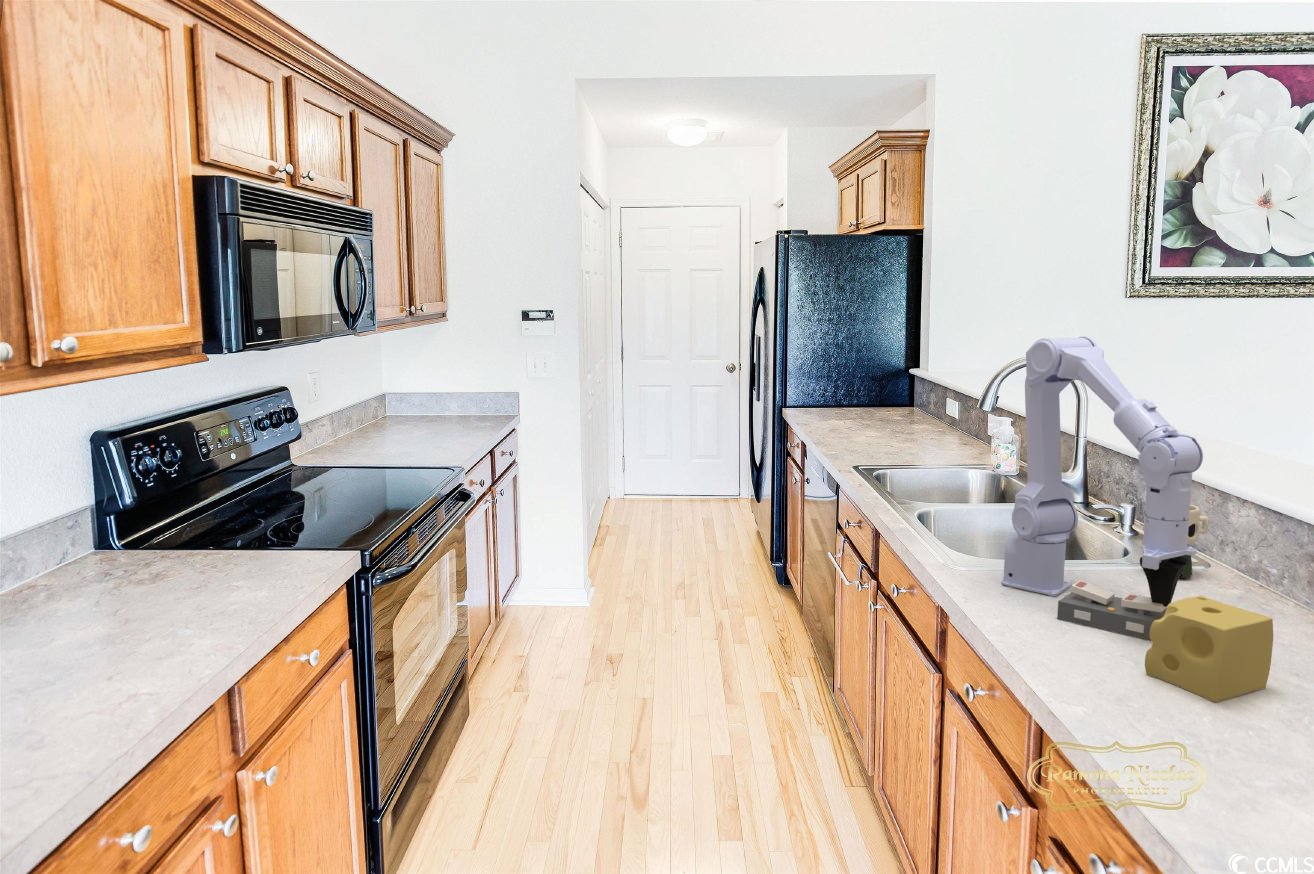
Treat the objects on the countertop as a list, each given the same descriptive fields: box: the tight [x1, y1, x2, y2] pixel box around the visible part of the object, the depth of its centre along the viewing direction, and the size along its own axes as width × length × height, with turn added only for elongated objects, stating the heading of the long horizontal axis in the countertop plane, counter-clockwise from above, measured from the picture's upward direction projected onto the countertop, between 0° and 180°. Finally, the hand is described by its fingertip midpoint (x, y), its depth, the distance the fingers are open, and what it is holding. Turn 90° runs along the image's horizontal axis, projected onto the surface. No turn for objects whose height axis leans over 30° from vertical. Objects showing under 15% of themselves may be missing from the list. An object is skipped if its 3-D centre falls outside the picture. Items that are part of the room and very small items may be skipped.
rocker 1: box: [1069, 580, 1116, 605], centre depth 139 cm, size 6×4×1 cm, turn 46°
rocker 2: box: [1121, 593, 1167, 612], centre depth 133 cm, size 6×4×1 cm, turn 45°
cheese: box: [1144, 595, 1274, 703], centre depth 115 cm, size 10×11×10 cm
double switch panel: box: [1057, 591, 1167, 642], centre depth 136 cm, size 15×8×4 cm, turn 45°
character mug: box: [1142, 504, 1210, 579], centre depth 158 cm, size 11×7×13 cm, turn 82°
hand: (1161, 604), depth 132 cm, fingers closed, pressing on rocker 2
